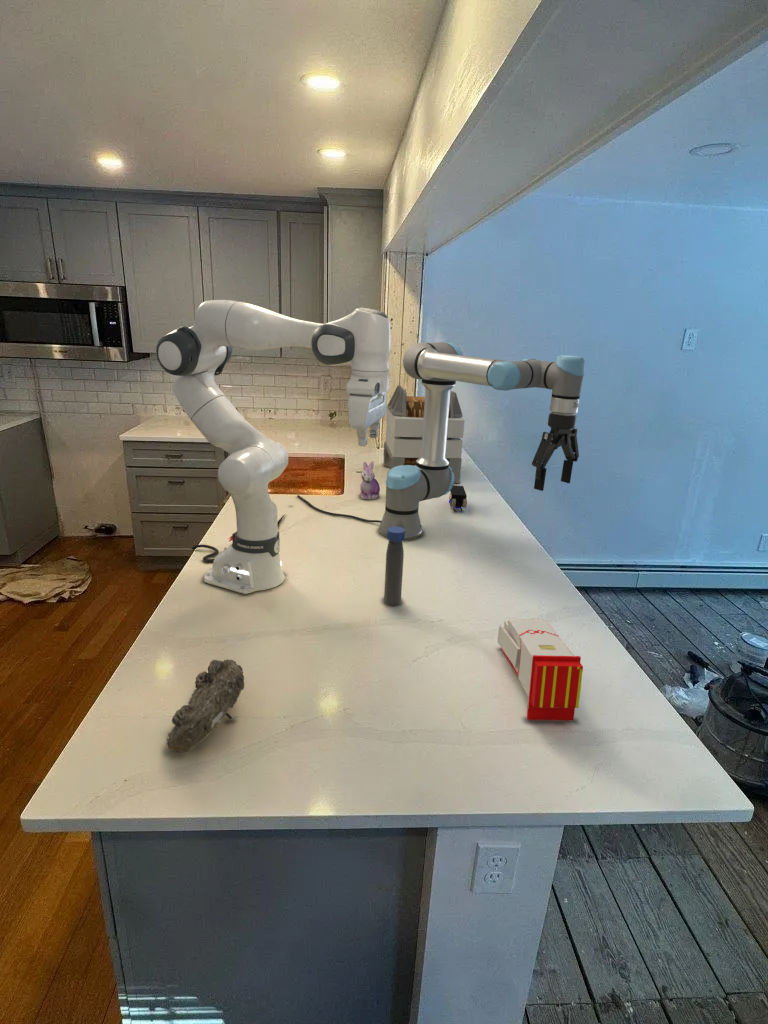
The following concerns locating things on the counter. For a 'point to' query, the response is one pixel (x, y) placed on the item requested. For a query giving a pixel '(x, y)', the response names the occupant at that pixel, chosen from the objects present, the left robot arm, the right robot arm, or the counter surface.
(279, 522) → the feather
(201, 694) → the fossil
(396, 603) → the bottle
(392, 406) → the light boxy container
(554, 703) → the toy
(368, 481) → the figurine
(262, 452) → the left robot arm
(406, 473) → the right robot arm
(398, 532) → the cap
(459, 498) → the figurine character
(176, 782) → the counter surface
